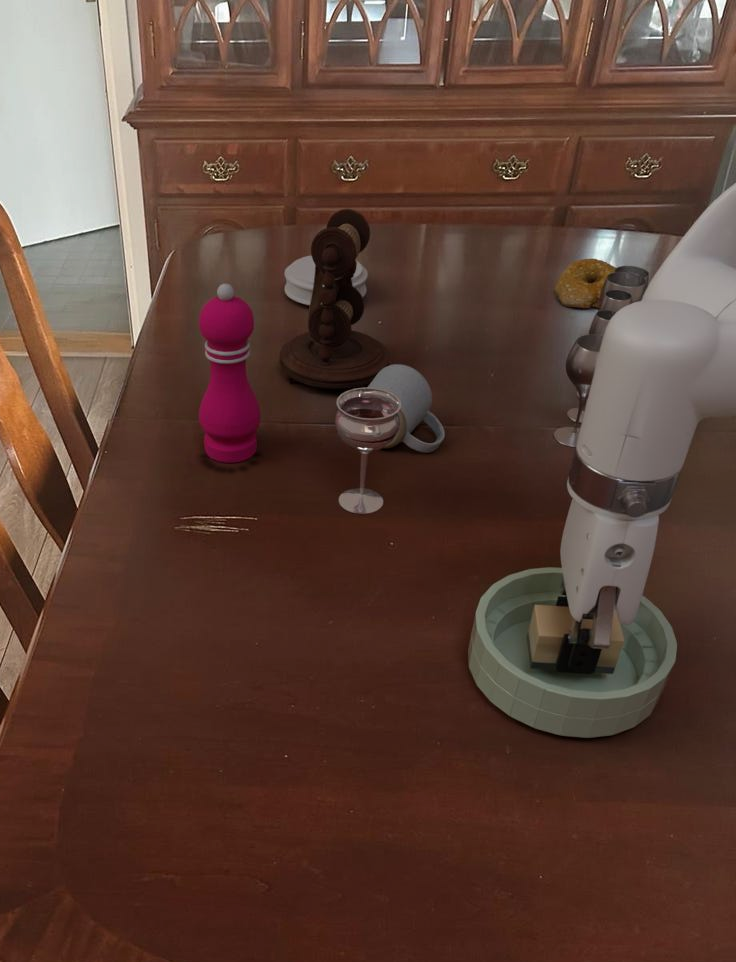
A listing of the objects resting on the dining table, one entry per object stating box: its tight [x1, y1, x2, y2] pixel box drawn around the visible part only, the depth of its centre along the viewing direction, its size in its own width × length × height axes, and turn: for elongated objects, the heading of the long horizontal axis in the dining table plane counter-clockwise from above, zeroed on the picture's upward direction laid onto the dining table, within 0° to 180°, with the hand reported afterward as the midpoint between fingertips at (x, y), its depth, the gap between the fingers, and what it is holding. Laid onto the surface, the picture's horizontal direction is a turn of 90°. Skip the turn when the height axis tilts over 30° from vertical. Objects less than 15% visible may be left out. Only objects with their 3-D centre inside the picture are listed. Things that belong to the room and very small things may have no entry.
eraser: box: [527, 605, 624, 674], centre depth 80 cm, size 7×4×4 cm, turn 83°
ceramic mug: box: [366, 363, 446, 454], centre depth 110 cm, size 11×8×8 cm
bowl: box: [467, 566, 678, 739], centre depth 81 cm, size 17×17×6 cm
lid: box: [284, 254, 368, 306], centre depth 142 cm, size 13×13×5 cm
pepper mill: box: [198, 283, 262, 464], centre depth 104 cm, size 7×7×20 cm
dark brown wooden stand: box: [279, 208, 391, 389], centre depth 118 cm, size 15×15×20 cm
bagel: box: [554, 258, 617, 309], centre depth 140 cm, size 10×11×5 cm
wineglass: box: [334, 387, 401, 515], centre depth 99 cm, size 7×7×12 cm
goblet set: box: [553, 265, 650, 448], centre depth 115 cm, size 28×6×13 cm, turn 154°
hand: (571, 649), depth 81 cm, fingers closed on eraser, 4 cm apart
